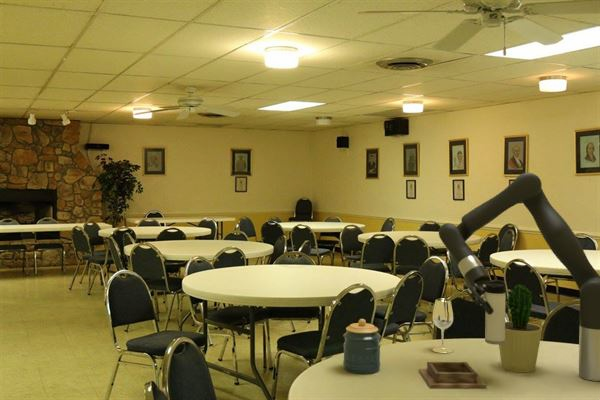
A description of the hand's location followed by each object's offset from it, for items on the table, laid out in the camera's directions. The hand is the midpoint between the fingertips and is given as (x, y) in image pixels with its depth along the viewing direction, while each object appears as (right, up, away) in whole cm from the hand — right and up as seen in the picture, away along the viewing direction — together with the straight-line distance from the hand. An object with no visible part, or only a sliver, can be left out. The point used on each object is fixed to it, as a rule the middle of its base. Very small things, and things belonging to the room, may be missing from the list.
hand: (498, 312), depth 208 cm
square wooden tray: (-15, -23, +2) cm, 28 cm away
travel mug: (-1, -11, +2) cm, 11 cm away
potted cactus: (+12, -23, +17) cm, 31 cm away
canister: (-44, -23, +14) cm, 51 cm away
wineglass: (-10, -22, +39) cm, 46 cm away
